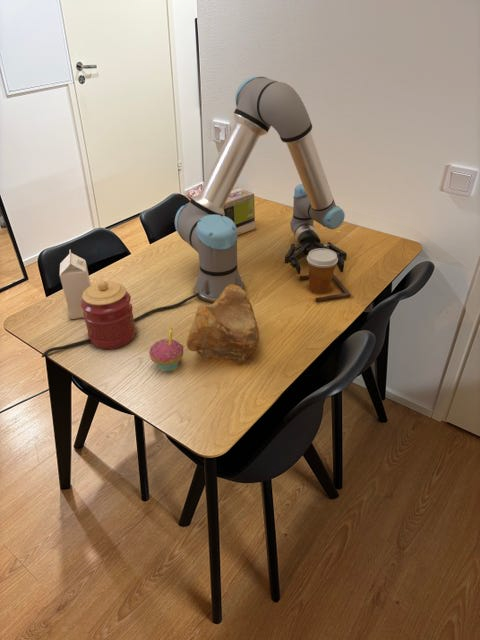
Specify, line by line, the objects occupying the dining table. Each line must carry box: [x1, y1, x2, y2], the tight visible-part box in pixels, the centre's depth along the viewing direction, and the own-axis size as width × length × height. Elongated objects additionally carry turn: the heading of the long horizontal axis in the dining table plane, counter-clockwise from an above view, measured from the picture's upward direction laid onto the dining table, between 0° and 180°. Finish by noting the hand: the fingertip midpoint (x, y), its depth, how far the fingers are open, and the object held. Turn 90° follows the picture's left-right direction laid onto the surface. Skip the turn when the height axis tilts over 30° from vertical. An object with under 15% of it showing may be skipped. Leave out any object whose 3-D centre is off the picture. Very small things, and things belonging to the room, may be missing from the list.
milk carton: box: [59, 249, 92, 320], centre depth 142 cm, size 7×7×19 cm
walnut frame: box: [299, 273, 352, 303], centre depth 157 cm, size 11×15×1 cm
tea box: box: [223, 187, 256, 236], centre depth 188 cm, size 15×10×15 cm
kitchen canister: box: [81, 279, 137, 350], centre depth 132 cm, size 13×13×18 cm
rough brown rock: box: [186, 284, 260, 364], centre depth 127 cm, size 23×17×15 cm
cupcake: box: [148, 327, 184, 372], centre depth 123 cm, size 9×8×12 cm
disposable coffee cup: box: [306, 248, 338, 294], centre depth 153 cm, size 10×10×12 cm
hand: (320, 269), depth 153 cm, fingers open, 13 cm apart
